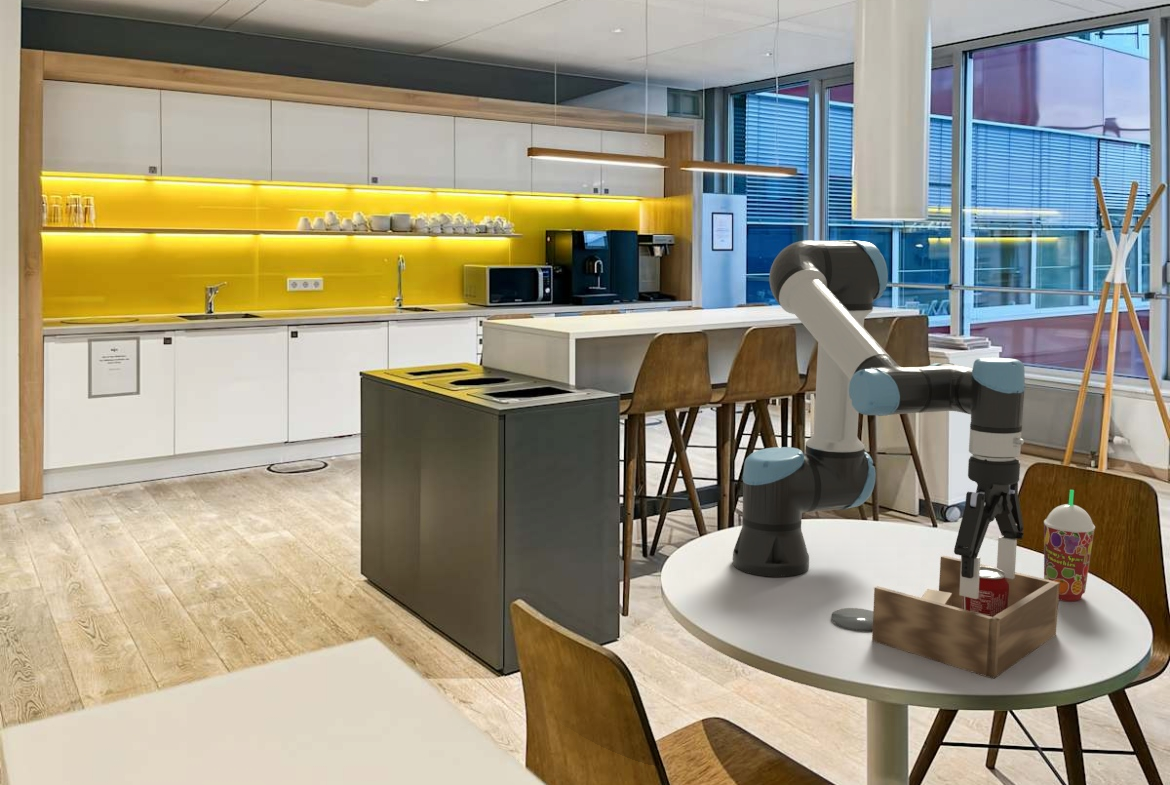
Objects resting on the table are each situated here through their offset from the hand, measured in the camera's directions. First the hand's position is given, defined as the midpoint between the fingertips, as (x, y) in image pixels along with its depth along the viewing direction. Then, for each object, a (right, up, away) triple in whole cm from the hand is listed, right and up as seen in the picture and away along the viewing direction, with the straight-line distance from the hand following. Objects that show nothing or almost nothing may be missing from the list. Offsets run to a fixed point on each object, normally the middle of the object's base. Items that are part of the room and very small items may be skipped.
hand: (987, 586), depth 158 cm
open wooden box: (-2, -9, +4) cm, 10 cm away
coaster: (-18, -8, +11) cm, 22 cm away
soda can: (0, -10, +2) cm, 10 cm away
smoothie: (+23, -7, +23) cm, 34 cm away
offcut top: (-6, -6, +7) cm, 11 cm away
